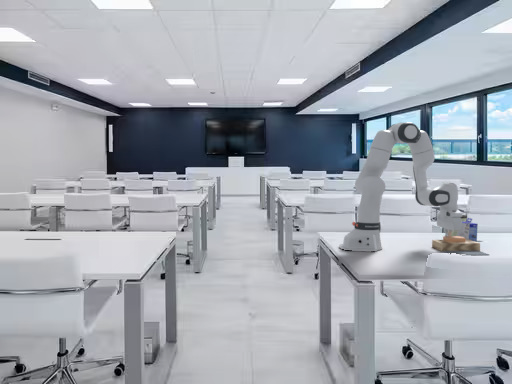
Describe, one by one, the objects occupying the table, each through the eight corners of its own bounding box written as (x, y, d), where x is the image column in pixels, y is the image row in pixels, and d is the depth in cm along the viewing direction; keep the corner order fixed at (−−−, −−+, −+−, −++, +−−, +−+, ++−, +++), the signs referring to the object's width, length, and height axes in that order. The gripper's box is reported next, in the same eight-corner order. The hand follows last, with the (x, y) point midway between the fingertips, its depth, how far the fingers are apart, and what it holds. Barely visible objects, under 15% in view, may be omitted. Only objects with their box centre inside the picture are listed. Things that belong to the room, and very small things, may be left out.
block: (448, 242, 219) (448, 238, 219) (443, 240, 225) (443, 236, 225) (465, 241, 219) (465, 238, 219) (459, 239, 225) (459, 236, 225)
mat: (453, 255, 205) (453, 255, 205) (443, 251, 215) (443, 250, 215) (489, 255, 206) (489, 254, 206) (477, 250, 216) (478, 250, 216)
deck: (441, 251, 215) (441, 243, 215) (432, 247, 226) (432, 239, 226) (479, 250, 216) (480, 243, 215) (468, 246, 227) (468, 239, 226)
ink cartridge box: (477, 245, 229) (478, 219, 228) (468, 246, 228) (469, 219, 227) (465, 242, 239) (465, 217, 238) (456, 242, 238) (457, 217, 237)
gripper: (434, 209, 238) (433, 233, 239) (452, 214, 218) (451, 240, 218) (445, 209, 238) (444, 233, 239) (464, 214, 218) (463, 240, 219)
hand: (447, 237), depth 229 cm, fingers closed
